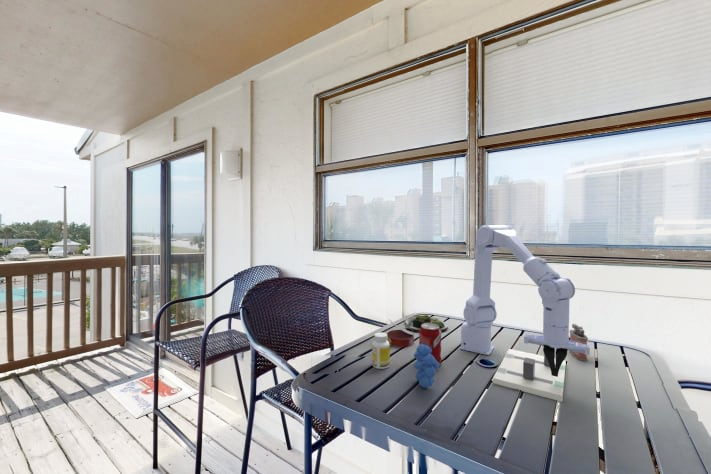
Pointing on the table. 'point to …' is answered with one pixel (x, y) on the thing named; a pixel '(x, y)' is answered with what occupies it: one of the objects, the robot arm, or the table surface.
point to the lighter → (578, 341)
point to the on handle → (546, 361)
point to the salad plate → (418, 320)
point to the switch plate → (540, 385)
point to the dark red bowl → (400, 337)
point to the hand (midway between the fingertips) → (554, 374)
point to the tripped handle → (529, 368)
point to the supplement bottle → (380, 351)
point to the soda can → (431, 339)
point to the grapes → (425, 365)
